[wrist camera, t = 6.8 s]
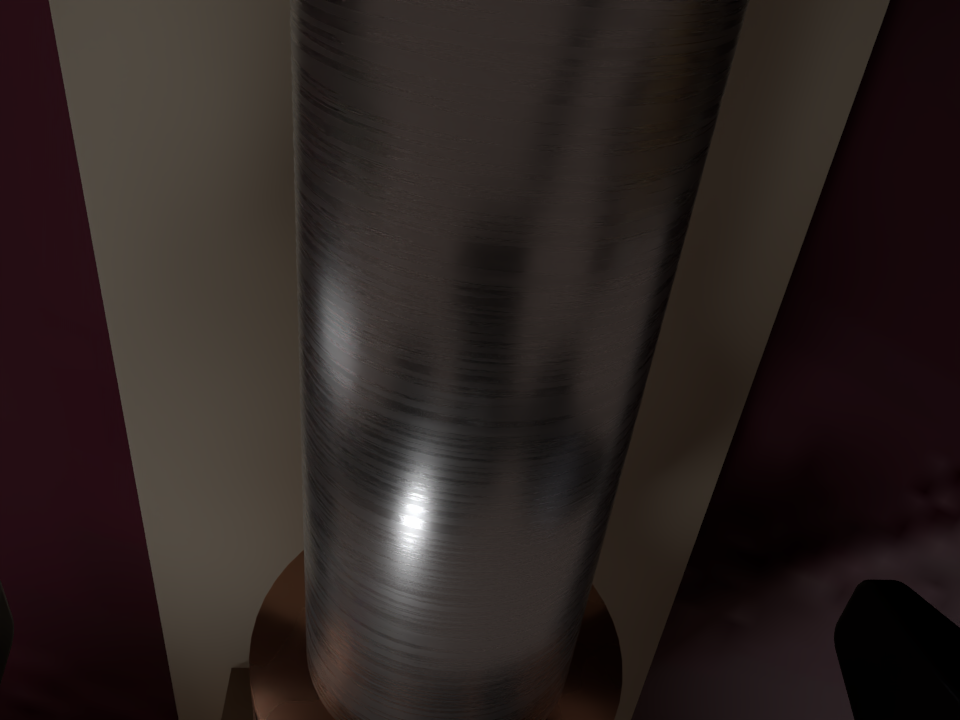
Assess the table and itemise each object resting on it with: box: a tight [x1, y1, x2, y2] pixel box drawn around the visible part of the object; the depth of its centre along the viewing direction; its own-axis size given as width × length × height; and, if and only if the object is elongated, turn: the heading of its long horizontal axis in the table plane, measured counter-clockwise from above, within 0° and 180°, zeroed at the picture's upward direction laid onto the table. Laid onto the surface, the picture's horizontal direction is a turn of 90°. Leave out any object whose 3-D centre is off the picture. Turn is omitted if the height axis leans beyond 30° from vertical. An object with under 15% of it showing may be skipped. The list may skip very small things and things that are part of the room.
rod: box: [249, 0, 749, 720], centre depth 9 cm, size 5×19×5 cm, turn 174°
